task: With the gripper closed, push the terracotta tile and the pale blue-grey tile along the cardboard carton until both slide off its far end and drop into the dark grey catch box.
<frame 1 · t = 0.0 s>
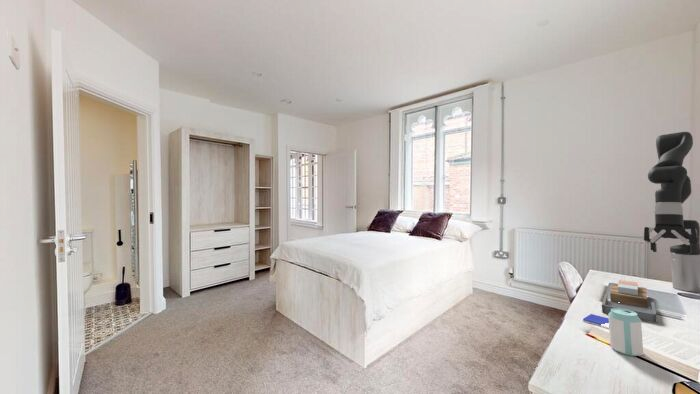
hand: (670, 253, 110), 22 cm above the table, tool pointing down, fingers open, 8 cm apart
can: (626, 351, 82), on the table
tile b: (628, 292, 119), point 4 cm above the table, touching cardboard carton
catch box: (628, 311, 109), on the table
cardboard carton: (629, 299, 120), on the table
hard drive: (608, 326, 99), on the table
tile a: (628, 288, 123), point 4 cm above the table, touching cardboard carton
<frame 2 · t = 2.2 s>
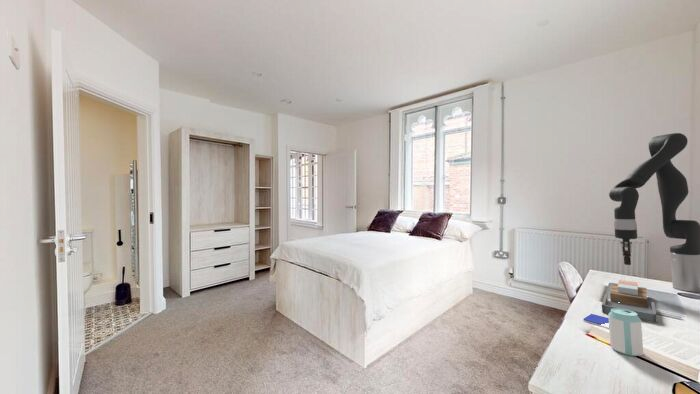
hand: (627, 264, 129), 13 cm above the table, tool pointing down, fingers closed
nothing on the table moved.
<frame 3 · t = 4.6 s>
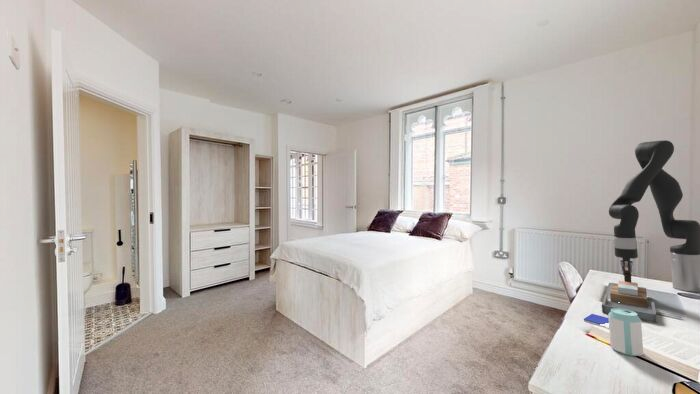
hand: (628, 284, 125), 5 cm above the table, tool pointing down, fingers closed
tile a: (628, 288, 122), point 4 cm above the table, touching gripper
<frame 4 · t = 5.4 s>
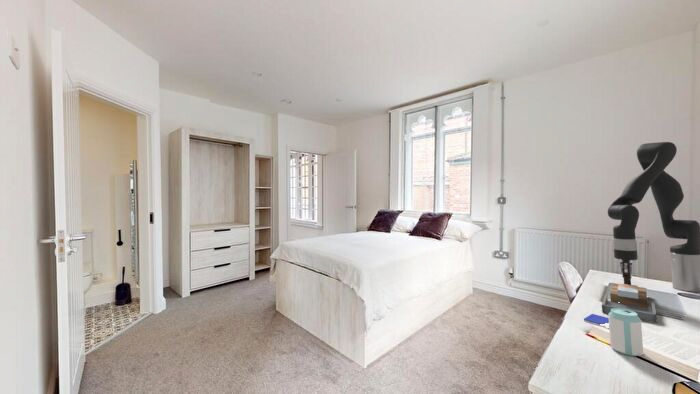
hand: (627, 286, 122), 5 cm above the table, tool pointing down, fingers closed
tile b: (628, 295, 115), point 4 cm above the table
tile a: (628, 291, 119), point 4 cm above the table, touching gripper
everything else where it was.
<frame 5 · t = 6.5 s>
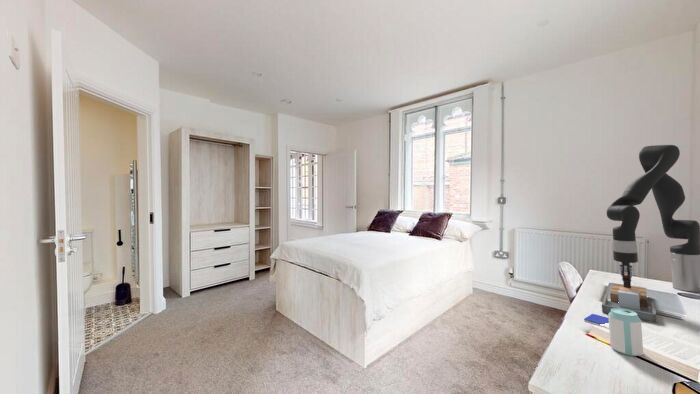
hand: (627, 289, 118), 5 cm above the table, tool pointing down, fingers closed
tile b: (628, 299, 112), point 3 cm above the table, tilted 90°, touching catch box
tile a: (629, 295, 114), point 4 cm above the table, touching gripper
everything else where it was.
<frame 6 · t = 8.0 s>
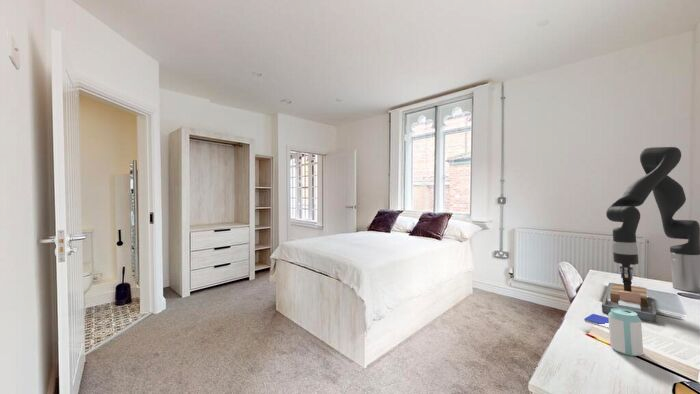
hand: (627, 292, 116), 5 cm above the table, tool pointing down, fingers closed
tile b: (629, 304, 108), point 3 cm above the table, tilted 180°, touching catch box
tile a: (630, 298, 112), point 3 cm above the table, tilted 90°, touching catch box
everything else where it was.
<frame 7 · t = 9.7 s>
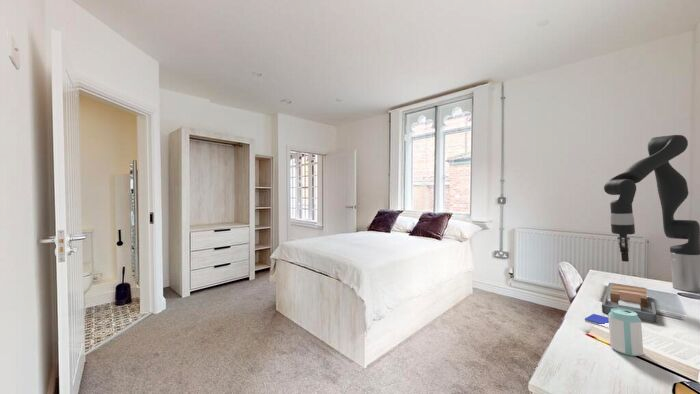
hand: (625, 261, 122), 17 cm above the table, tool pointing down, fingers closed
nothing on the table moved.
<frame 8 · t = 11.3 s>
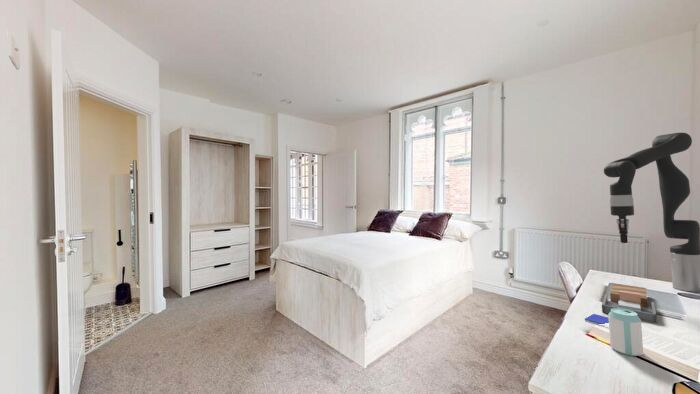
hand: (624, 242, 123), 25 cm above the table, tool pointing down, fingers closed
nothing on the table moved.
at the end: tile a inside the target area on the catch box (5.9 cm from its centre), point 3.5 cm above the catch box's base; tile b inside the target area on the catch box (0.6 cm from its centre), point 3.0 cm above the catch box's base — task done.
